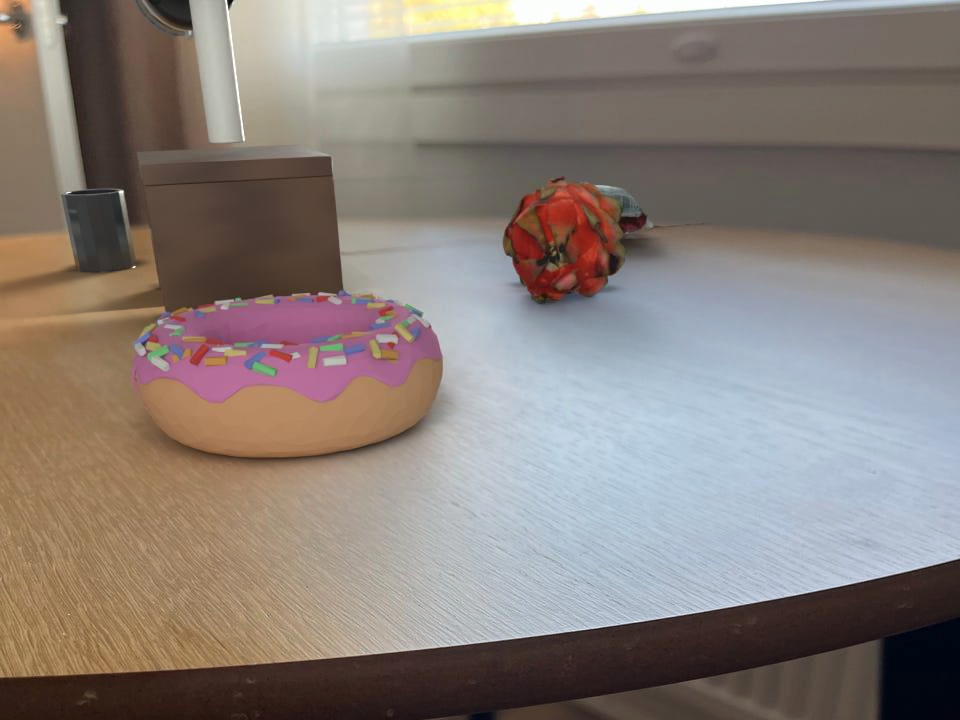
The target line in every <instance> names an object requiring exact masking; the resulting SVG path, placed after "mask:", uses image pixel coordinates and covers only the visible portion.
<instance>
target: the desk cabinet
mask: <svg viewBox="0 0 960 720" xmlns="http://www.w3.org/2000/svg"><path fill="white" fill-rule="evenodd" d="M136 157H137V164H138V169H139V175H140V180H141V181H140V182H141V186H142V192H143V199H144V204H145V210H146V215H147V222H148V227H149V233H150V239H151V245H152V250H153V256H154V262H155V270H156V273H157V280H158V285H159V290H161V295H162V300H163V304H164V311H165V312H170V313H172V312H174V311H177V310H179V309H181V308H184V307H185V308H187V309H189V308H192V309H193V310H196V309H198V306H201V305H207V304H213V303H214V304H215V301H222V300H233V299H234V301H235V298H241V300H248V299H255V298H258V297H263V296H268V295H273V297H276V296H292V294H303V293H310V295H318V293H319V292H323V293H330V294H337V295H338V293H339V291H344V281H343V268H342V258H341V246H340V234H339V226H338V225H339V224H338V212H337V201H336V200H337V199H336V188H335V177H334V168H333V167H334V166H333V156H332V155H330V154H327V153H324V152H321V151H318V150H316V149H312V148H310V147H307V146H304V145H301V144H280V145H258V146H238V147H217V148H213V147H212V148H195V149H194V148H192V149H172V150H171V149H170V150H149V151H136ZM338 296H340V295H338ZM165 312H164V313H165Z"/></svg>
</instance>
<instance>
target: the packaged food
mask: <svg viewBox="0 0 960 720" xmlns="http://www.w3.org/2000/svg"><path fill="white" fill-rule="evenodd" d="M594 185H595V184H594ZM595 186H596V187H597V188H598V189H599V190H600V193H601V195H608V196H612V197H615V198H616V199H617V200H618V201H619V202H620V203H621V205H622V207H623V213H622V215H621V218H620V219H619V221H618V223H619V224H620V226H619V227H620V228H621V230H622V232H623V233H624V234H625V235H624V237H623V238H622V239H621V240H620V241H622V240H624V239H626V238H628V237H629V236H631V235H634V234H636V233H638V232H639V231H640V230H641V229H642V228H643V227H644V226H646V227H648V228H649V229H650V230H652V229H653V227H654V224H653V222H652V220H649V218H648V214H646V212H645V210H644V209H643V208H642V207H641V206H640V205H639V204H638V202H637V201H636V200H635V198H634V196H633V195H632V193H630V192H629V191H628V190H625V188H620V187H615V186H611V185H602V184H601V185H600V184H598V185H595Z"/></svg>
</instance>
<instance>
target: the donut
mask: <svg viewBox="0 0 960 720" xmlns="http://www.w3.org/2000/svg"><path fill="white" fill-rule="evenodd" d="M338 295H340V296H338ZM338 295H337V294H330V293H323V292H319V293H318V295H310V293H303V294H292V296H276V297H273V295H268V296H263V297H258V298H255V299H248V300H241V298H235V301H234V299H233V300H222V301H215V304H214V303H213V304H207V305H201V306H198V309H196V310H193V309H192V308H189V309H187V308H185V307H184V308H181V309H179V310H177V311H174V312H172V313H170V312H164V313H163V314H161V316H159V318H157V319H156V320H155V321H154V322H153V323H150V324H149V325H146V326H145V327H144V328H143V330H142V332H141V333H140V336H139V337H138V338H137V339H136V340H135V341H134V342H132V343H131V344H132V346H133V348H134V351H136V354H135V355H134V358H133V361H132V364H131V365H132V367H131V381H132V386H133V388H134V390H135V392H136V395H137V397H138V398H139V401H141V403H142V405H143V407H144V408H145V410H146V412H147V414H149V416H150V417H151V419H152V420H153V421H154V423H155V424H156V426H157V427H158V428H159V429H160V430H161V431H162V432H164V434H166V435H167V436H168V437H169V438H170V439H172V440H174V441H176V442H178V443H180V444H181V445H184V446H186V447H190V448H192V449H195V450H199V451H203V452H206V453H209V454H216V455H223V456H229V457H235V458H237V457H238V458H249V459H251V458H253V459H254V458H256V459H257V458H258V459H261V458H262V459H263V458H264V459H265V458H299V457H300V458H301V457H310V456H312V457H313V456H320V455H327V454H333V453H338V452H344V451H350V450H355V449H358V448H361V447H365V446H369V445H373V444H376V443H379V442H383V441H385V440H388V439H390V438H392V437H395V436H398V435H400V434H401V433H403V432H405V431H407V430H408V429H410V428H412V427H413V426H415V425H417V424H418V423H419V421H421V419H423V418H424V417H425V416H426V414H427V413H428V412H429V411H430V410H431V408H432V406H433V404H434V402H435V399H436V397H437V395H438V392H439V390H440V386H441V382H442V378H443V372H444V371H443V370H444V357H443V353H442V350H441V346H440V341H439V338H438V335H437V334H436V333H435V331H434V330H433V328H432V325H431V323H430V322H429V321H428V320H425V318H423V315H424V312H423V311H421V310H419V309H417V308H415V307H414V306H412V305H410V304H408V303H405V305H404V304H403V303H402V302H401V301H399V300H398V299H396V300H394V299H389V298H388V299H386V298H382V297H380V296H379V297H375V295H373V294H372V293H369V294H361V295H360V294H354V295H353V296H352V295H351V294H349V293H348V292H347V291H345V290H343V291H339V293H338Z"/></svg>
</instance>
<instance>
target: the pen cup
mask: <svg viewBox="0 0 960 720" xmlns="http://www.w3.org/2000/svg"><path fill="white" fill-rule="evenodd" d="M60 198H61V202H62V207H63V212H64V216H65V221H66V226H67V231H68V236H69V240H70V247H71V251H72V255H73V256H72V257H73V260H74V264H75V265H74V266H75V269H76V271H77V272H82V273H109V272H110V273H111V272H120V271H124V270H125V271H126V270H130V269H134V268H136V267H137V266H138V264H137V258H136V252H135V247H134V242H133V241H134V240H133V236H132V231H131V224H130V219H129V214H128V209H127V208H128V207H127V203H126V197H125V191H124V189H121V188H90V189H77V190H70V191H64V192H61V193H60Z"/></svg>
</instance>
